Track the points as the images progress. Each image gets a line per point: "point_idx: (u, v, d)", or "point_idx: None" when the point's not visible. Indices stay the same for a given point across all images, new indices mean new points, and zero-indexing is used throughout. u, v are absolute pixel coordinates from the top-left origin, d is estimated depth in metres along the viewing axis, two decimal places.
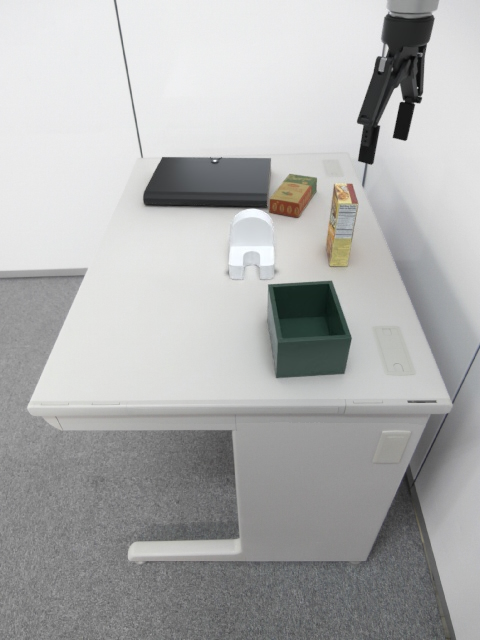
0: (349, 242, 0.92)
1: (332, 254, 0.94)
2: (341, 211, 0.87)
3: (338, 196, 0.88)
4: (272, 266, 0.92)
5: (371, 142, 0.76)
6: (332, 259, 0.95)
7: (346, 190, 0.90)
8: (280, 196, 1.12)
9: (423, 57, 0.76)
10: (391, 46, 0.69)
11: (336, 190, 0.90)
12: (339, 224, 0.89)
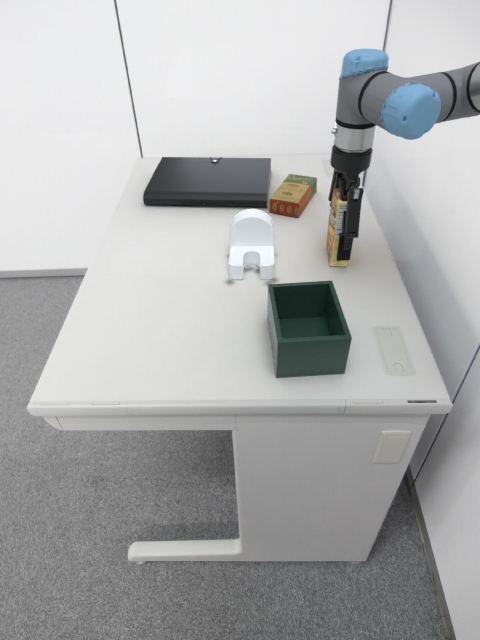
0: None
1: (332, 254, 0.94)
2: (341, 211, 0.87)
3: (338, 196, 0.88)
4: (272, 266, 0.92)
5: None
6: (332, 259, 0.95)
7: None
8: (280, 196, 1.12)
9: None
10: (352, 174, 0.82)
11: (336, 190, 0.90)
12: (339, 224, 0.89)
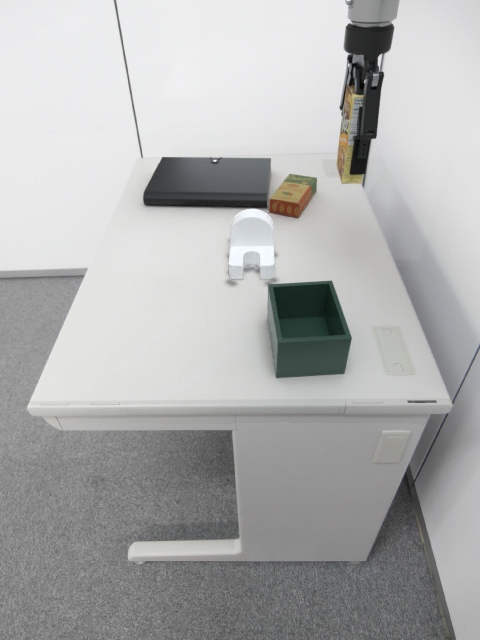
0: None
1: (345, 167, 0.80)
2: (356, 108, 0.74)
3: (352, 91, 0.74)
4: (272, 266, 0.92)
5: None
6: (344, 174, 0.81)
7: None
8: (280, 196, 1.12)
9: None
10: (370, 56, 0.69)
11: (349, 87, 0.76)
12: (353, 126, 0.75)
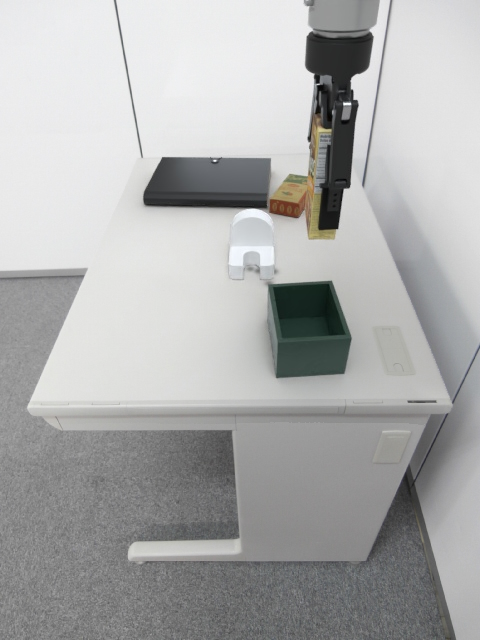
0: None
1: (311, 220, 0.61)
2: (323, 146, 0.54)
3: (318, 123, 0.55)
4: (272, 266, 0.92)
5: None
6: (312, 228, 0.62)
7: None
8: (280, 196, 1.12)
9: None
10: (340, 77, 0.49)
11: (316, 116, 0.57)
12: (320, 169, 0.56)
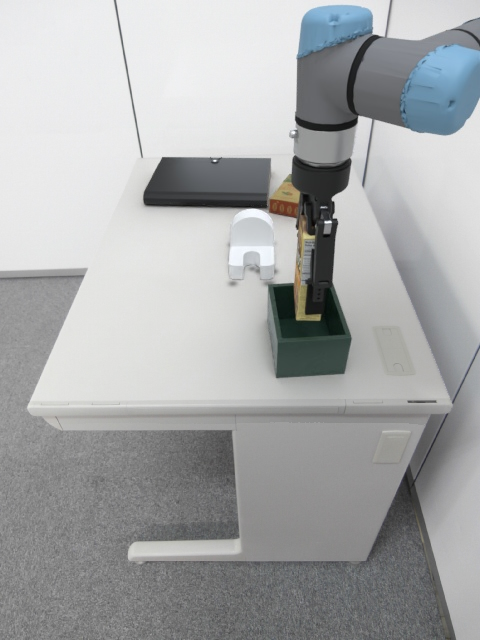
0: None
1: (298, 305, 0.67)
2: (307, 250, 0.60)
3: (304, 227, 0.61)
4: (272, 266, 0.92)
5: None
6: (299, 312, 0.68)
7: None
8: (280, 196, 1.12)
9: None
10: (322, 197, 0.56)
11: (302, 218, 0.63)
12: (305, 267, 0.62)
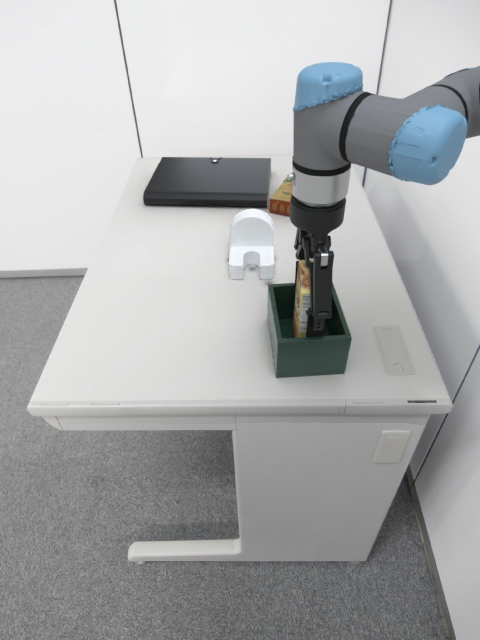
0: None
1: None
2: (305, 303, 0.66)
3: (302, 281, 0.67)
4: (272, 266, 0.92)
5: None
6: None
7: None
8: (280, 196, 1.12)
9: None
10: (318, 234, 0.59)
11: (300, 271, 0.69)
12: (303, 317, 0.68)
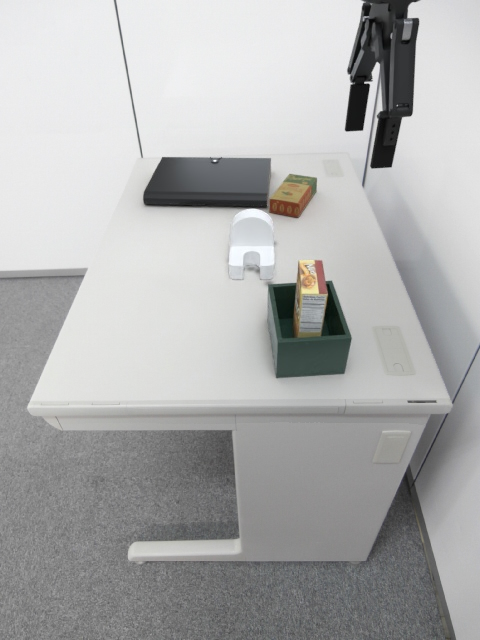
0: None
1: None
2: (305, 303, 0.66)
3: (302, 281, 0.67)
4: (272, 266, 0.92)
5: None
6: None
7: (313, 272, 0.69)
8: (280, 196, 1.12)
9: None
10: (398, 4, 0.49)
11: (300, 271, 0.69)
12: (303, 317, 0.68)
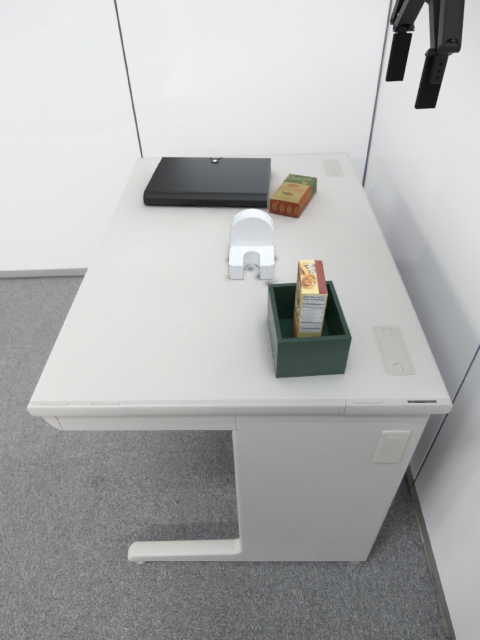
0: None
1: None
2: (305, 303, 0.66)
3: (302, 281, 0.67)
4: (272, 266, 0.92)
5: None
6: None
7: (313, 272, 0.69)
8: (280, 196, 1.12)
9: None
10: None
11: (300, 271, 0.69)
12: (303, 317, 0.68)
